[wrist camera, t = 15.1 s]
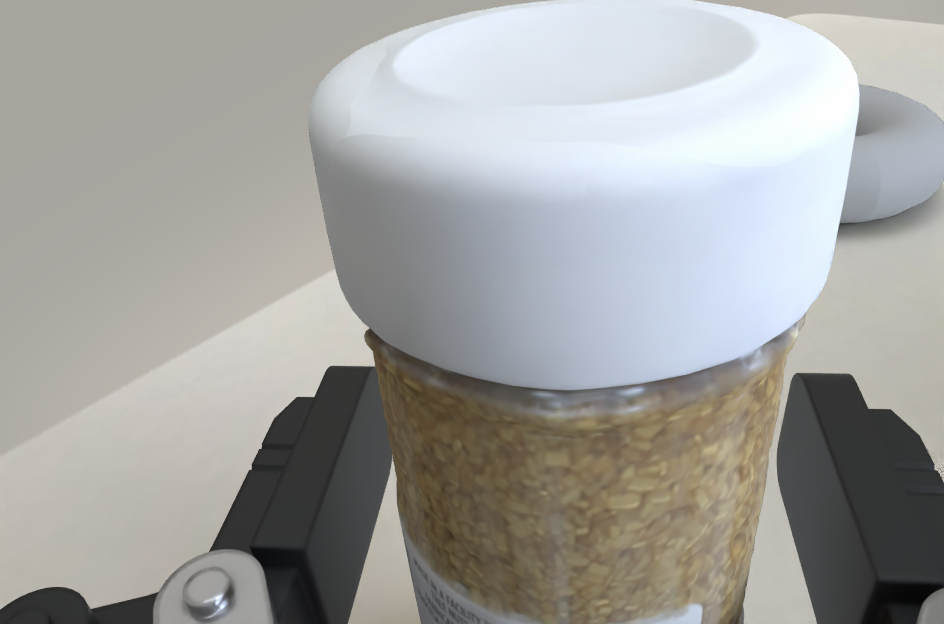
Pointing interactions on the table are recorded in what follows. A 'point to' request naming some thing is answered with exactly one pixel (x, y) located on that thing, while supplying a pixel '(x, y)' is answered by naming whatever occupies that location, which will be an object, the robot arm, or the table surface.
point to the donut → (892, 156)
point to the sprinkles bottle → (584, 290)
